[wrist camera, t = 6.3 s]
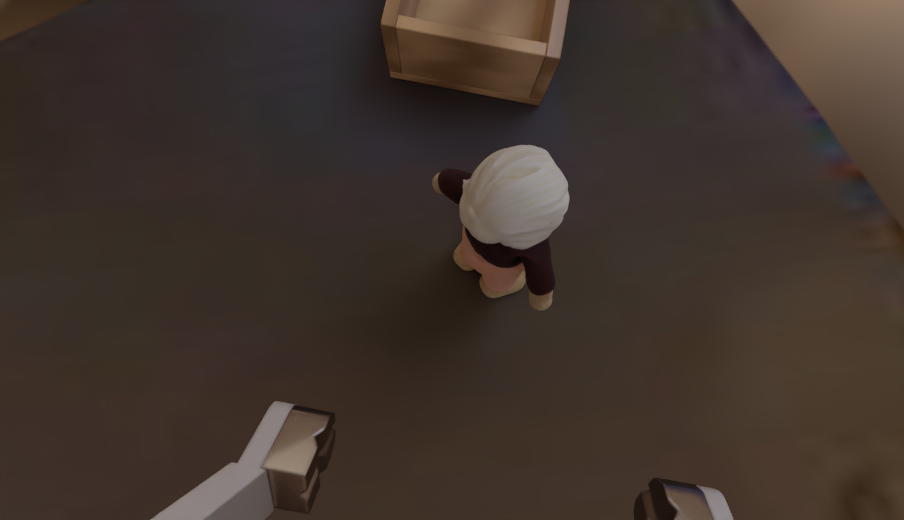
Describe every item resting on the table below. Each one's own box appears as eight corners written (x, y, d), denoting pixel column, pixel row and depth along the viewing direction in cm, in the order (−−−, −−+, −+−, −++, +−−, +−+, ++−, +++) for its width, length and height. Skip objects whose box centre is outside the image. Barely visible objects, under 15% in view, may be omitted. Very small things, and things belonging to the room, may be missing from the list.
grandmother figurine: (554, 272, 24) (674, 209, 12) (515, 324, 24) (597, 315, 11) (452, 193, 25) (464, 54, 13) (411, 241, 24) (381, 146, 12)
